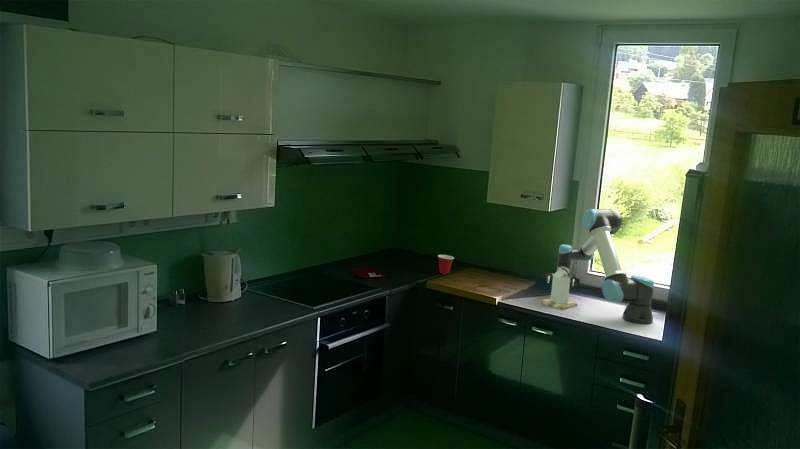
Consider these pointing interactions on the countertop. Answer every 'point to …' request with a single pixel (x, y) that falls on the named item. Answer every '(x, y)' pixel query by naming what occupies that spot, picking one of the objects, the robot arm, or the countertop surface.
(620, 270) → the robot arm
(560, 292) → the milk carton
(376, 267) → the countertop surface
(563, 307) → the yellow ridged slab
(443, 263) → the plastic cup
